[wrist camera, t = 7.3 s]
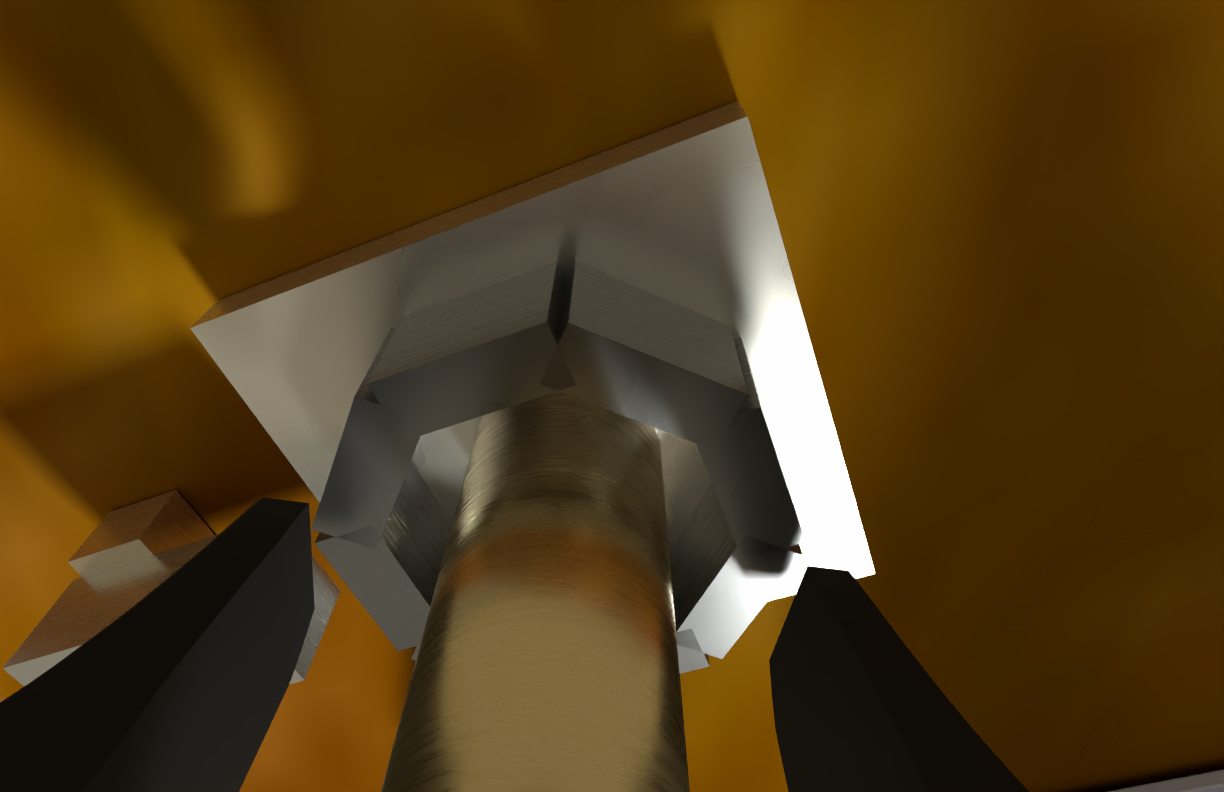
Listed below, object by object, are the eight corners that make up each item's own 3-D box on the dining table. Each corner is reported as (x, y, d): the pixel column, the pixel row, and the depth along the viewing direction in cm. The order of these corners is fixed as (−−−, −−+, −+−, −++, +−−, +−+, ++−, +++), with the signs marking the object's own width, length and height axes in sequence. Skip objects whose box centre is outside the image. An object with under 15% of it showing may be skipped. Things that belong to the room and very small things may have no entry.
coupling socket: (737, 100, 11) (778, 166, 9) (914, 724, 19) (967, 870, 16) (-16, 390, 14) (-178, 515, 11) (402, 834, 22) (369, 976, 19)
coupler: (631, 352, 12) (650, 841, 6) (680, 503, 14) (738, 1018, 8) (444, 401, 13) (273, 902, 6) (512, 541, 15) (429, 1057, 8)
